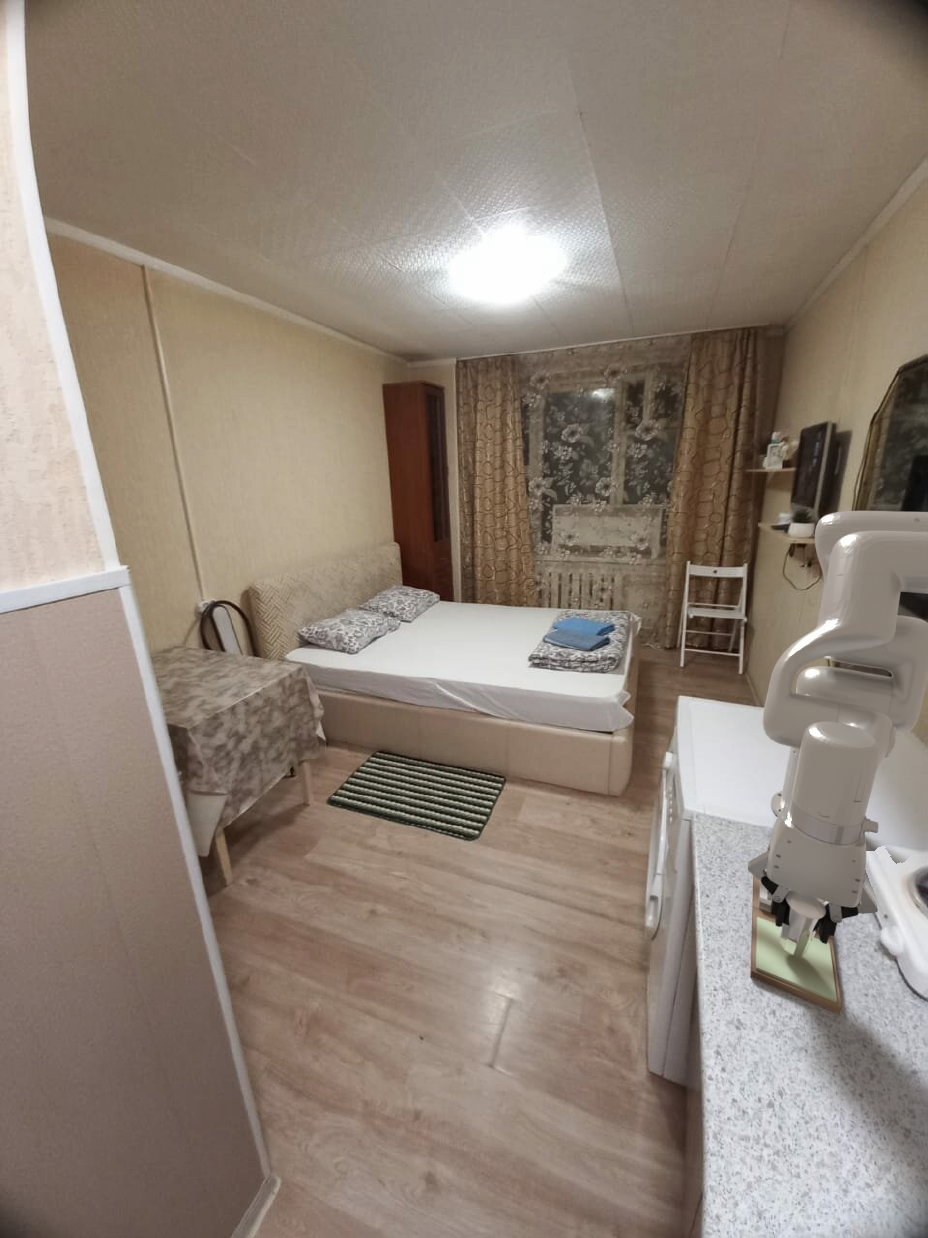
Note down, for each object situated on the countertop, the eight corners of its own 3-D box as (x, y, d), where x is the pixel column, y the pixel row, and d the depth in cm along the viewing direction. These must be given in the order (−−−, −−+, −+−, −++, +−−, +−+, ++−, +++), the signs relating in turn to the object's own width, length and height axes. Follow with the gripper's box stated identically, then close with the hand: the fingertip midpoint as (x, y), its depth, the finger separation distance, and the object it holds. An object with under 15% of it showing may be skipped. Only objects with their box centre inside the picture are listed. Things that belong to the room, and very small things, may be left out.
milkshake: (824, 966, 65) (843, 910, 62) (781, 958, 66) (797, 903, 63) (809, 935, 70) (825, 881, 66) (768, 928, 71) (782, 875, 67)
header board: (753, 867, 85) (755, 856, 84) (823, 890, 80) (826, 878, 80) (750, 977, 67) (752, 963, 67) (839, 1015, 62) (843, 1001, 62)
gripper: (904, 821, 60) (872, 932, 66) (748, 782, 69) (732, 883, 74) (919, 862, 54) (883, 981, 60) (746, 814, 63) (729, 922, 68)
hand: (799, 925), depth 67 cm, fingers closed on milkshake, 4 cm apart
